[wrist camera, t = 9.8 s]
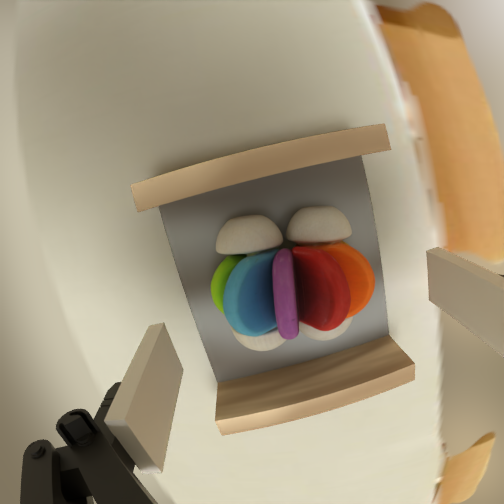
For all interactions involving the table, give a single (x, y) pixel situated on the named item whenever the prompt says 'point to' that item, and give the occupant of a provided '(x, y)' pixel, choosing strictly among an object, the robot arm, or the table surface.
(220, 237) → the rainbow petal toy
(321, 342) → the bay
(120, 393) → the robot arm
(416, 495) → the table surface
